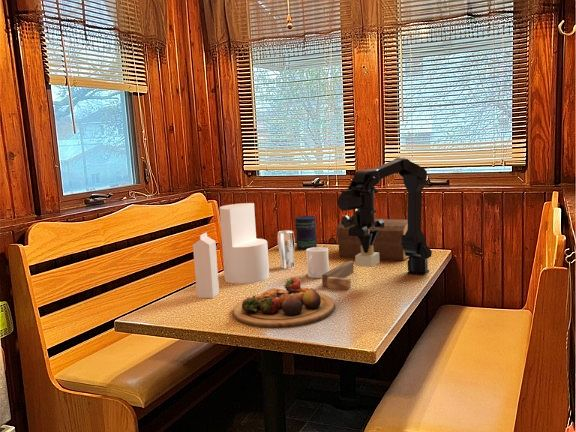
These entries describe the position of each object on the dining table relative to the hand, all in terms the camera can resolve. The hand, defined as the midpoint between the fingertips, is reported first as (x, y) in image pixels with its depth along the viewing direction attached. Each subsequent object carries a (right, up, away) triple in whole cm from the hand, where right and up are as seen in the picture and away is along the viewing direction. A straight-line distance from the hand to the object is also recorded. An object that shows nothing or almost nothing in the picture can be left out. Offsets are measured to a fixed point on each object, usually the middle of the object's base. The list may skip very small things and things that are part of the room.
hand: (367, 252), depth 195 cm
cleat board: (-5, -11, +11) cm, 17 cm away
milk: (-55, -16, +2) cm, 57 cm away
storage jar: (-18, -3, +72) cm, 75 cm away
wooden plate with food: (-29, -18, -19) cm, 39 cm away
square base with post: (0, -4, +1) cm, 4 cm away
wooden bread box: (+11, -5, +50) cm, 52 cm away
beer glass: (-28, -9, +36) cm, 46 cm away
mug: (-17, -11, +19) cm, 28 cm away
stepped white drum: (-43, -12, +24) cm, 51 cm away
